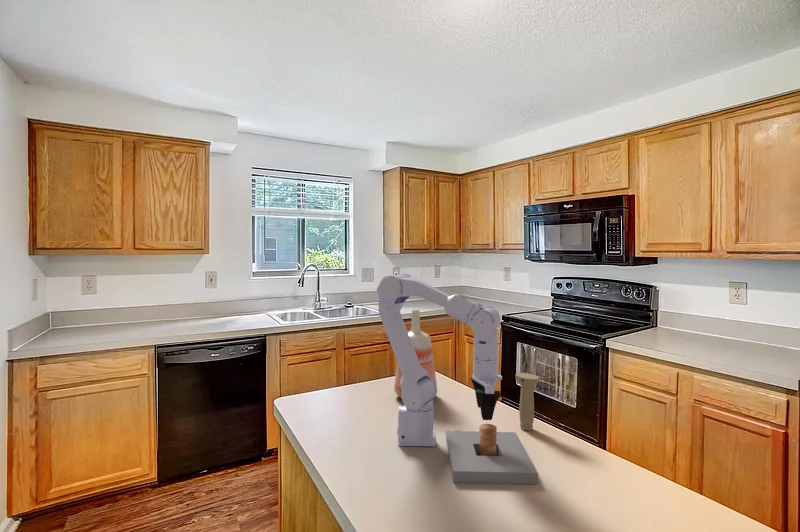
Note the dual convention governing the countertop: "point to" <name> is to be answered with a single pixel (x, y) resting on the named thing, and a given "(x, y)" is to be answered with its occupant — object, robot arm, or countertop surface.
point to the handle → (527, 399)
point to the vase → (418, 351)
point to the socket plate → (489, 460)
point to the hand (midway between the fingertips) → (484, 413)
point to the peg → (487, 440)
